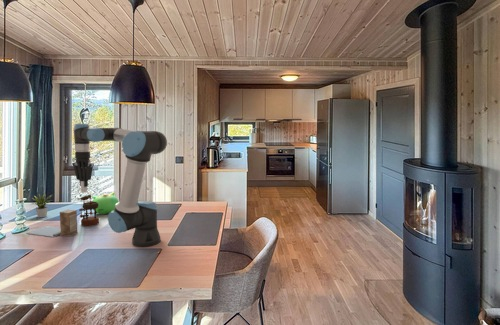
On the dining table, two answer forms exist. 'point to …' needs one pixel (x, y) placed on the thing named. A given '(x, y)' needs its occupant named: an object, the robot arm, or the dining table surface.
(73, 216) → the brown rectangular block
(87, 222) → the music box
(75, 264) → the dining table surface
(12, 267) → the dining table surface
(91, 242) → the dining table surface
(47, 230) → the mat
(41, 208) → the house plant
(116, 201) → the green rounded lump
